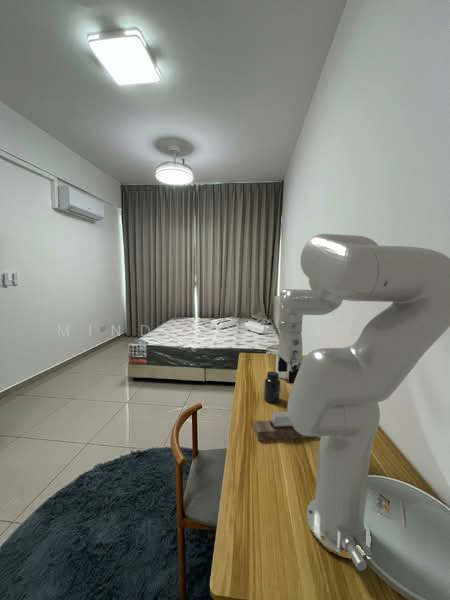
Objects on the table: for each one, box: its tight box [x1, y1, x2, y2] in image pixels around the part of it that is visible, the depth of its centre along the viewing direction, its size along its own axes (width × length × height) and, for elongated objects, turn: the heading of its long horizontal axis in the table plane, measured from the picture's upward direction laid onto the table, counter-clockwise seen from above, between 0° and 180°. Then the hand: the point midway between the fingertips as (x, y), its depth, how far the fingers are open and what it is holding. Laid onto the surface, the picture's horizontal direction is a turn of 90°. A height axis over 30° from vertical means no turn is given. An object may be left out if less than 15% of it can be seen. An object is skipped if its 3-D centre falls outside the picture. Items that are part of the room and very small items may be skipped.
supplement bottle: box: [263, 371, 281, 404], centre depth 107 cm, size 7×7×12 cm
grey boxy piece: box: [271, 411, 293, 429], centre depth 84 cm, size 8×3×7 cm, turn 97°
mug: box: [275, 354, 294, 380], centre depth 131 cm, size 12×9×11 cm
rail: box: [253, 419, 317, 441], centre depth 84 cm, size 20×6×3 cm, turn 97°
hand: (287, 376), depth 82 cm, fingers open, 9 cm apart
